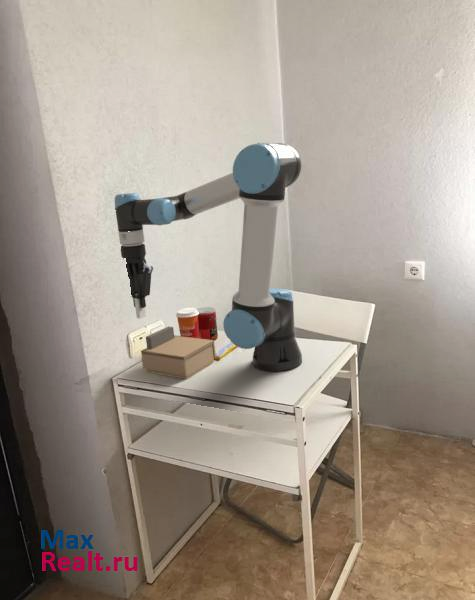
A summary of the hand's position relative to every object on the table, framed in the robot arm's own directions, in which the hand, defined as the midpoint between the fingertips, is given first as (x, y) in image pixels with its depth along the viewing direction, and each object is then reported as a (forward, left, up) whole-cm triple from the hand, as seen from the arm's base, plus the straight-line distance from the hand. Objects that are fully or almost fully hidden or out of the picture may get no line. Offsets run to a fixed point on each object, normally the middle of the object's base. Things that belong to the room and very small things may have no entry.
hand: (141, 317), depth 164 cm
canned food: (-6, -26, -16) cm, 31 cm away
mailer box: (-14, 0, -15) cm, 21 cm away
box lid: (-14, 0, -14) cm, 20 cm away
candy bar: (-20, -17, -16) cm, 31 cm away
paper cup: (-7, -15, -16) cm, 22 cm away
